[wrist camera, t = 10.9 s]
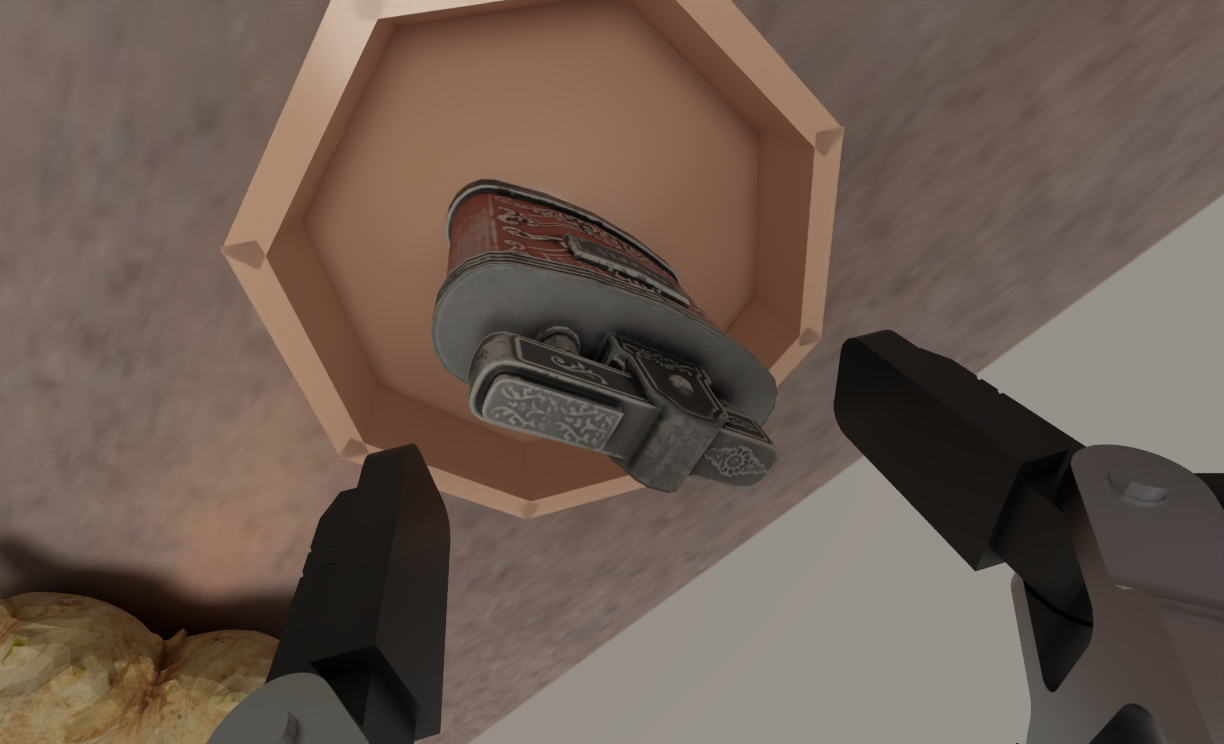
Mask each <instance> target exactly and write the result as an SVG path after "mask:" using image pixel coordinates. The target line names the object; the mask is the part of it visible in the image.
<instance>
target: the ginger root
mask: <svg viewBox="0 0 1224 744" xmlns="http://www.w3.org/2000/svg"><path fill="white" fill-rule="evenodd" d="M186 634H187V631H186V630H184V629H182V630H181V631H179V632H178V633H177V634H176V635H175V636H173V637H172V638H171V639H169V640H162V638H161V637H160V636H159V635H157V634H154V633H151V632H150V631H149V629H148V628H147V627H146V626H145V625H144V624H143V623H142V622H140V621H139V620H138V619H137V618H136V617H134V616H132V615H131V614H129V613H127V612H126V611H124V610H122V609H120V608H118V607H116V606H114V605H112V604H110V603H107V602H104V601H101V600H98V599H95V598H91V597H86V596H80V595H74V594H65V593H56V592H29V593H23V594H20V595H17V596H13V597H8V598H4V599H1V598H0V744H206V743H207V741H208V740H209V738H210V737H211V735H212V733H213V732H214V731H215V729H216V728H217V727H218V725H219V724H220V723H221V722H222V720H223V719H224V718H225V717H226V716H227V715H228V714H229V713H230V711H231V710H232V709H233V708H234V707H235V706H237V705H238V704H239V703H240V702H241V701H242V700H243V699H244V698H246V697H247V696H248V695H250V694H251V693H252V692H254V691H255V690H256V689H258V688H260V687H261V686H263V685H264V683H265V681H266V678H267V676H268V673H269V670H270V667H271V664H272V661H273V658H274V655H275V652H276V649H277V646H278V643H279V640H278V639H276V638H274V637H272V636H270V635H267V634H264V633H261V632H258V631H249V630H220V631H214V632H208V633H202V634H198V635H194V636H189V637H186Z"/></svg>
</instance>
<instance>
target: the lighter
mask: <svg viewBox="0 0 1224 744" xmlns="http://www.w3.org/2000/svg"><path fill="white" fill-rule="evenodd" d="M445 232H446V239H447V245H448V247H449V258H448V268H447V277H446V279H445V281H444V282H443V284H442V286H441V287H440V289H439V291H438V292H437V297H436V302H435V307H434V312H433V318H432V326H431V335H432V341H433V347H434V352H435V354H436V356H437V357H438V359H439V361H440V362H441V364H442V365H443V367H444V369H445V370H446V371H448V372H449V373H450V374H452V375H453V376H454V377H456V378H457V379H458V380H460V381H461V382H463V383H465V384H467V385H469V404H470V408H471V412H472V413H473V414H474V415H475V416H476V417H478V418H479V419H480V420H483V421H485V422H488V423H490V424H494V425H497V426H501V427H505V428H509V429H512V430H516V431H520V432H524V433H527V434H531V435H535V436H539V437H543V438H546V439H550V440H554V441H558V442H561V443H565V444H569V445H573V446H576V447H580V448H584V449H588V450H591V451H595V452H599V453H603V454H607V455H608V456H609V458H610V459H611V460H612V461H614V462H615V463H616V464H618V465H619V466H621V467H622V468H623V469H624V470H625V471H626V472H627V473H628V474H629V475H630V476H631V477H632V478H633V479H634V480H636V481H637V482H639V483H641V484H642V485H644V486H646V487H648V488H651V489H655V490H659V491H663V492H668V493H670V492H674V491H677V490H678V489H679V487H680V486H681V484H682V483H683V482H684V480H685V479H686V477H687V476H689V477H693V478H697V479H701V480H704V481H708V482H712V483H716V484H719V485H723V486H727V487H731V488H735V489H741V490H746V489H751V488H754V487H756V486H757V485H759V484H761V483H762V482H763V481H764V480H765V479H766V478H767V477H768V475H769V474H770V473H771V472H772V470H773V469H774V468H775V466H776V464H777V463H778V461H779V457H780V453H779V451H778V449H777V447H776V446H775V445H774V444H773V442H772V441H771V440H770V439H769V437H768V436H767V435H766V433H765V432H764V431H763V430H762V428H761V427H762V426H763V425H764V424H765V423H766V421H767V419H768V418H769V416H770V414H771V412H772V411H773V409H774V405H775V401H776V397H777V387H776V380H775V378H774V377H773V376H772V374H771V373H770V372H769V370H768V369H767V368H766V367H765V366H764V365H763V364H762V363H761V362H760V361H759V360H758V358H757V357H756V356H755V355H754V354H753V353H751V352H750V351H749V350H747V349H746V348H745V347H743V346H742V345H741V344H739V343H738V342H736V341H735V340H734V339H732V338H731V337H730V336H728V335H727V334H726V333H724V332H723V331H722V330H720V329H719V328H718V327H717V326H716V325H715V324H714V323H713V322H712V321H711V319H710V318H709V317H708V316H707V315H706V314H705V313H704V312H703V311H702V310H701V308H700V307H699V306H698V305H697V304H696V303H695V302H694V301H693V300H692V299H691V297H690V296H689V295H688V294H687V293H686V292H685V291H684V290H683V289H682V286H681V282H680V278H679V276H678V275H677V274H676V272H675V271H674V270H673V269H672V268H671V267H670V266H669V264H668V263H667V262H666V261H665V260H663V259H662V258H661V257H660V256H658V255H657V254H656V253H654V252H653V251H652V250H651V249H649V248H648V247H647V246H645V245H644V244H643V243H642V242H640V241H639V240H638V239H636V238H635V237H634V236H633V235H631V234H629V233H628V232H626V231H624V230H622V229H621V228H619V227H617V226H616V225H614V224H612V223H610V222H609V221H607V220H605V219H604V218H602V217H600V216H599V215H597V214H595V213H593V212H592V211H589V210H587V209H584V208H582V207H579V206H577V205H574V204H572V203H569V202H567V201H564V200H562V199H559V198H557V197H554V196H552V195H549V194H547V193H544V192H540V191H536V190H533V189H529V188H525V187H521V186H518V185H514V184H510V183H506V182H502V181H499V180H495V179H479V180H476V181H474V182H471V183H468V184H467V185H466V186H464V187H463V188H462V189H461V190H460V191H459V192H457V193H456V195H455V197H454V199H453V200H452V202H451V204H450V205H449V209H448V214H447V220H446V226H445Z"/></svg>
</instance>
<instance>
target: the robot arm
mask: <svg viewBox="0 0 1224 744" xmlns="http://www.w3.org/2000/svg"><path fill="white" fill-rule="evenodd" d="M834 413H835V417H836V420H837V423H838V425H839V427H840V429H841V430H842V432H843V433H844V435H845V436H846V437H847V438H848V439H849V440H850V441H851V442H852V443H853V444H854V445H855V446H856V447H857V448H858V449H859V450H860V451H861V452H862V454H863V455H864V456H865V457H866V458H867V459H868V460H869V461H870V462H871V463H872V464H873V465H874V466H875V467H876V468H877V469H878V470H879V471H880V472H881V473H882V474H883V475H884V476H885V477H886V479H887V480H888V481H889V482H890V483H891V484H892V485H893V486H894V487H895V488H896V489H897V490H898V491H899V492H900V493H901V494H902V495H903V496H904V497H905V498H906V499H907V500H908V501H909V503H910V504H911V505H912V506H913V507H914V508H915V509H916V510H917V511H918V512H919V513H920V514H921V515H922V516H923V517H924V518H925V519H926V520H927V521H928V522H929V523H930V524H931V525H932V526H933V527H934V529H936V531H937V532H938V533H939V534H940V535H941V536H942V537H943V538H944V539H945V540H946V541H947V542H948V543H949V544H950V545H951V546H952V547H953V549H954V550H956V552H957V553H958V554H959V555H960V556H961V557H962V558H963V559H964V560H965V561H966V562H967V563H968V564H969V565H970V566H971V567H972V568H973V569H974V570H975V571H978V570H981V569H985V568H988V567H991V566H995V565H998V564H1001V563H1004V562H1006V563H1007V564H1008V565H1009V566H1010V567H1011V568H1012V569H1013V570H1014V571H1015V573H1014V575H1013V577H1012V581H1011V591H1012V597H1013V603H1014V608H1015V614H1016V619H1017V625H1018V630H1019V636H1020V641H1021V647H1022V653H1023V658H1024V664H1025V669H1026V675H1027V681H1028V686H1029V692H1030V698H1031V718H1030V724H1029V728H1028V733H1027V742H1026V744H1224V473H1192V472H1191V471H1189V470H1187V469H1186V468H1184V467H1183V466H1181V465H1179V464H1177V463H1175V462H1173V461H1171V460H1169V459H1167V458H1164V457H1162V456H1159V455H1157V454H1154V453H1151V452H1148V451H1144V450H1141V449H1136V448H1132V447H1127V446H1120V445H1093V446H1088V447H1086V446H1084V445H1083V444H1081V443H1079V442H1078V441H1076V440H1075V439H1073V438H1072V437H1070V436H1069V435H1067V434H1066V433H1064V432H1063V431H1061V430H1059V429H1058V428H1056V427H1055V426H1053V425H1052V424H1050V423H1049V422H1047V421H1046V420H1044V419H1042V418H1041V417H1039V416H1038V415H1036V414H1035V413H1033V412H1032V411H1030V410H1029V409H1027V408H1026V407H1024V406H1023V405H1021V404H1019V403H1018V402H1016V401H1015V400H1013V399H1012V398H1010V397H1009V396H1007V395H1005V394H1004V393H1001V394H999V393H998V389H996V388H995V387H993V386H992V385H990V384H989V383H987V382H986V381H984V380H983V379H981V380H978V379H977V376H976V375H975V374H973V373H972V372H970V371H969V370H967V369H966V368H964V367H963V366H961V365H960V364H958V363H957V362H955V361H953V360H952V359H949V358H946V357H943V356H941V355H938V354H935V353H932V352H930V351H927V350H924V349H919V348H918V347H916V346H915V345H914V344H912V343H911V342H909V341H908V340H906V339H905V338H903V337H902V336H900V335H899V334H897V333H896V332H894V331H891V330H882V331H878V332H874V333H870V334H866V335H862V336H858V337H854V338H849V339H847V340H846V341H845V342H844V344H843V346H842V349H841V355H840V362H839V369H838V377H837V384H836V391H835V399H834ZM449 555H450V525H449V519H448V514H447V511H446V507H445V504H444V502H443V500H442V498H441V495H440V493H439V491H438V489H437V487H436V484H435V482H434V480H433V478H432V476H431V474H430V471H429V469H428V467H427V465H426V463H425V460H424V458H423V456H422V454H421V452H420V450H419V448H418V447H417V446H416V445H415V444H413V443H412V444H408V445H404V446H399V447H395V448H391V449H387V450H383V451H379V452H375V453H371V454H368V455H367V456H366V458H365V460H364V463H363V467H362V471H361V474H360V478H359V482H358V486H357V488H354V489H350V490H346V491H342V492H340V493H339V495H338V496H337V497H336V499H335V500H334V501H333V502H332V504H331V505H330V506H329V508H328V509H327V510H326V512H325V513H324V514H323V515H322V517H321V518H320V520H319V523H318V526H317V529H316V532H315V535H314V538H313V541H312V544H311V552H310V553H308V556H307V559H306V562H305V565H304V568H303V571H302V572H303V577H301V578H300V580H299V583H298V586H297V589H296V592H295V595H294V598H293V601H292V604H291V607H290V610H289V613H288V616H287V619H286V622H285V625H284V628H283V631H282V634H281V637H280V640H279V643H278V646H277V649H276V652H275V655H274V658H273V661H272V664H271V667H270V670H269V673H268V676H267V678H266V681H265V683H264V685H263V686H261V687H260V688H258V689H256V690H255V691H254V692H252V693H251V694H250V695H248V696H247V697H246V698H244V699H243V700H242V701H241V702H240V703H239V704H238V705H237V706H235V707H234V708H233V709H232V710H231V711H230V713H229V714H228V715H227V716H226V717H225V718H224V719H223V720H222V722H221V723H220V724H219V725H218V727H217V728H216V729H215V731H214V732H213V733H212V735H211V737H210V738H209V740H208V741H207V743H206V744H414V741H417V740H420V739H423V738H426V737H430V736H433V735H436V734H439V733H440V727H441V708H442V689H443V669H444V650H445V631H446V612H447V593H448V574H449ZM1016 744H1018V743H1016Z"/></svg>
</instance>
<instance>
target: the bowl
mask: <svg viewBox="0 0 1224 744" xmlns="http://www.w3.org/2000/svg"><path fill="white" fill-rule="evenodd" d="M844 132H845V130H844V127H843V126H840V125H839V124H838V122H837V121H836V120H835V119H834V118H833V117H832V116H831V114H830V113H829V112H828V111H827V110H826V109H825V107H824V106H823V105H822V104H821V103H820V102H819V101H818V99H817V98H816V97H815V96H814V95H813V94H812V93H811V91H810V90H809V89H808V88H807V87H806V86H805V85H804V83H803V82H802V81H801V80H800V79H799V78H798V77H797V75H796V74H795V73H794V72H793V71H792V70H791V69H790V67H789V66H788V65H787V64H786V63H785V62H784V60H783V59H782V58H781V57H780V56H779V55H778V54H777V52H776V51H775V50H774V49H773V48H772V47H771V46H770V44H769V43H768V42H767V41H766V40H765V39H764V38H763V36H762V35H761V34H760V33H759V32H758V31H757V30H756V28H755V27H754V26H753V25H752V24H751V23H750V21H749V20H748V19H747V18H746V17H745V16H744V15H743V13H742V12H741V11H740V10H739V9H738V8H737V7H736V5H735V4H734V3H733V2H732V1H731V0H331V2H330V4H329V6H328V9H327V11H326V13H325V15H324V18H323V20H322V22H321V24H320V27H319V29H318V31H317V34H316V36H315V38H314V40H313V43H312V45H311V47H310V50H309V52H308V54H307V56H306V59H305V61H304V63H303V66H302V68H301V70H300V72H299V75H298V77H297V79H296V81H295V84H294V86H293V88H292V91H291V93H290V95H289V97H288V100H287V102H286V104H285V107H284V109H283V111H282V113H281V116H280V118H279V120H278V123H277V125H276V127H275V129H274V132H273V134H272V136H271V138H270V141H269V143H268V145H267V148H266V150H265V152H264V154H263V157H262V159H261V161H260V164H259V166H258V168H257V170H256V173H255V175H254V177H253V180H252V182H251V184H250V186H249V189H248V191H247V193H246V195H245V198H244V200H243V202H242V205H241V207H240V209H239V211H238V214H237V216H236V218H235V221H234V223H233V225H232V227H231V230H230V232H229V234H228V237H227V239H226V241H225V243H224V244H223V245H222V246H221V247H220V248H221V252H220V253H223V254H224V255H225V257H226V259H227V260H228V262H229V264H230V266H231V267H232V269H233V271H234V273H235V274H236V276H237V278H238V280H239V281H240V283H241V285H242V287H243V288H244V290H245V292H246V294H247V295H248V297H249V299H250V300H251V302H252V304H253V306H254V307H255V309H256V311H257V313H258V314H259V316H260V318H261V320H262V321H263V323H264V325H265V327H266V328H267V330H268V332H269V334H270V335H271V337H272V339H273V341H274V342H275V344H276V346H277V348H278V349H279V351H280V353H281V355H282V356H283V358H284V360H285V362H286V363H287V365H288V367H289V369H290V370H291V372H292V374H293V376H294V377H295V379H296V381H297V382H298V384H299V386H300V388H301V389H302V391H303V393H304V395H305V396H306V398H307V400H308V402H309V403H310V405H311V407H312V409H313V410H314V412H315V414H316V416H317V417H318V419H319V421H320V423H321V424H322V426H323V428H324V430H325V431H326V433H327V435H328V437H329V438H330V440H331V442H332V444H333V445H334V447H335V449H336V451H337V452H338V454H339V458H341V459H342V460H343V459H345V460H348V461H351V462H354V463H357V464H360V465H363V463H364V460H365V458H366V456H367V455H368V454H371V453H375V452H379V451H383V450H387V449H391V448H395V447H399V446H404V445H408V444H412V443H413V444H415V445H416V446H417V447H418V448H419V450H420V452H421V454H422V456H423V458H424V460H425V463H426V465H427V467H428V469H429V471H430V474H431V476H432V478H433V480H434V482H435V484H436V487H437V489H438V490H439V491H442V492H445V493H448V494H451V495H454V496H457V497H460V498H463V499H466V500H469V501H472V502H475V503H478V504H481V505H484V506H487V507H490V508H493V509H496V510H499V511H502V512H505V513H508V514H511V515H514V516H517V517H520V518H523V519H524V520H529V519H530V518H534V517H538V516H541V515H545V514H549V513H552V512H556V511H560V510H563V509H567V508H570V507H574V506H578V505H581V504H585V503H589V502H592V501H596V500H600V499H603V498H607V497H611V496H614V495H618V494H622V493H625V492H629V491H633V490H636V489H640V488H644V487H646V486H644V485H642V484H641V483H639V482H637V481H636V480H634V479H633V478H632V477H631V476H630V475H629V474H628V473H627V472H626V471H625V470H624V469H623V468H622V467H621V466H619V465H618V464H616V463H615V462H614V461H612V460H611V459H610V458H609V456H608V455H607V454H603V453H599V452H595V451H591V450H588V449H584V448H580V447H576V446H573V445H569V444H565V443H561V442H558V441H554V440H550V439H546V438H543V437H539V436H535V435H531V434H527V433H524V432H520V431H516V430H512V429H509V428H505V427H501V426H497V425H494V424H490V423H488V422H485V421H483V420H480V419H479V418H478V417H476V416H475V415H474V414H473V413H472V412H471V408H470V404H469V385H467V384H465V383H463V382H461V381H460V380H458V379H457V378H456V377H454V376H453V375H452V374H450V373H449V372H448V371H446V370H445V369H444V367H443V365H442V364H441V362H440V361H439V359H438V357H437V356H436V354H435V352H434V347H433V341H432V335H431V326H432V318H433V312H434V307H435V302H436V297H437V292H438V291H439V289H440V287H441V286H442V284H443V282H444V281H445V279H446V277H447V268H448V258H449V247H448V245H447V239H446V232H445V226H446V220H447V214H448V209H449V205H450V204H451V202H452V200H453V199H454V197H455V195H456V193H457V192H459V191H460V190H461V189H462V188H463V187H464V186H466V185H467V184H468V183H471V182H474V181H476V180H479V179H495V180H499V181H502V182H506V183H510V184H514V185H518V186H521V187H525V188H529V189H533V190H536V191H540V192H544V193H547V194H549V195H552V196H554V197H557V198H559V199H562V200H564V201H567V202H569V203H572V204H574V205H577V206H579V207H582V208H584V209H587V210H589V211H592V212H593V213H595V214H597V215H599V216H600V217H602V218H604V219H605V220H607V221H609V222H610V223H612V224H614V225H616V226H617V227H619V228H621V229H622V230H624V231H626V232H628V233H629V234H631V235H633V236H634V237H635V238H636V239H638V240H639V241H640V242H642V243H643V244H644V245H645V246H647V247H648V248H649V249H651V250H652V251H653V252H654V253H656V254H657V255H658V256H660V257H661V258H662V259H663V260H665V261H666V262H667V263H668V264H669V266H670V267H671V268H672V269H673V270H674V271H675V272H676V274H677V275H678V276H679V278H680V282H681V286H682V289H683V290H684V291H685V292H686V293H687V294H688V295H689V296H690V297H691V299H692V300H693V301H694V302H695V303H696V304H697V305H698V306H699V307H700V308H701V310H702V311H703V312H704V313H705V314H706V315H707V316H708V317H709V318H710V319H711V321H712V322H713V323H714V324H715V325H716V326H717V327H718V328H719V329H720V330H722V331H723V332H724V333H726V334H727V335H728V336H730V337H731V338H732V339H734V340H735V341H736V342H738V343H739V344H741V345H742V346H743V347H745V348H746V349H747V350H749V351H750V352H751V353H753V354H754V355H755V356H756V357H757V358H758V360H759V361H760V362H761V363H762V364H763V365H764V366H765V367H766V368H767V369H768V370H769V372H770V373H771V374H772V376H773V377H774V378H775V380H776V387H777V386H778V385H779V384H780V383H781V382H782V381H783V380H784V379H785V378H786V377H787V376H788V374H789V373H790V372H791V371H792V370H793V369H794V368H795V367H796V366H797V365H798V364H799V363H800V362H801V360H802V359H803V358H804V357H805V356H806V355H807V354H808V353H809V352H810V351H811V350H812V349H813V347H814V346H815V345H816V344H817V343H818V342H819V341H821V339H822V337H821V336H822V326H823V317H824V308H825V298H826V289H827V280H828V270H829V261H830V252H831V242H832V233H833V224H834V214H835V205H836V196H837V186H838V177H839V168H840V158H841V149H842V140H843V133H844Z"/></svg>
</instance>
